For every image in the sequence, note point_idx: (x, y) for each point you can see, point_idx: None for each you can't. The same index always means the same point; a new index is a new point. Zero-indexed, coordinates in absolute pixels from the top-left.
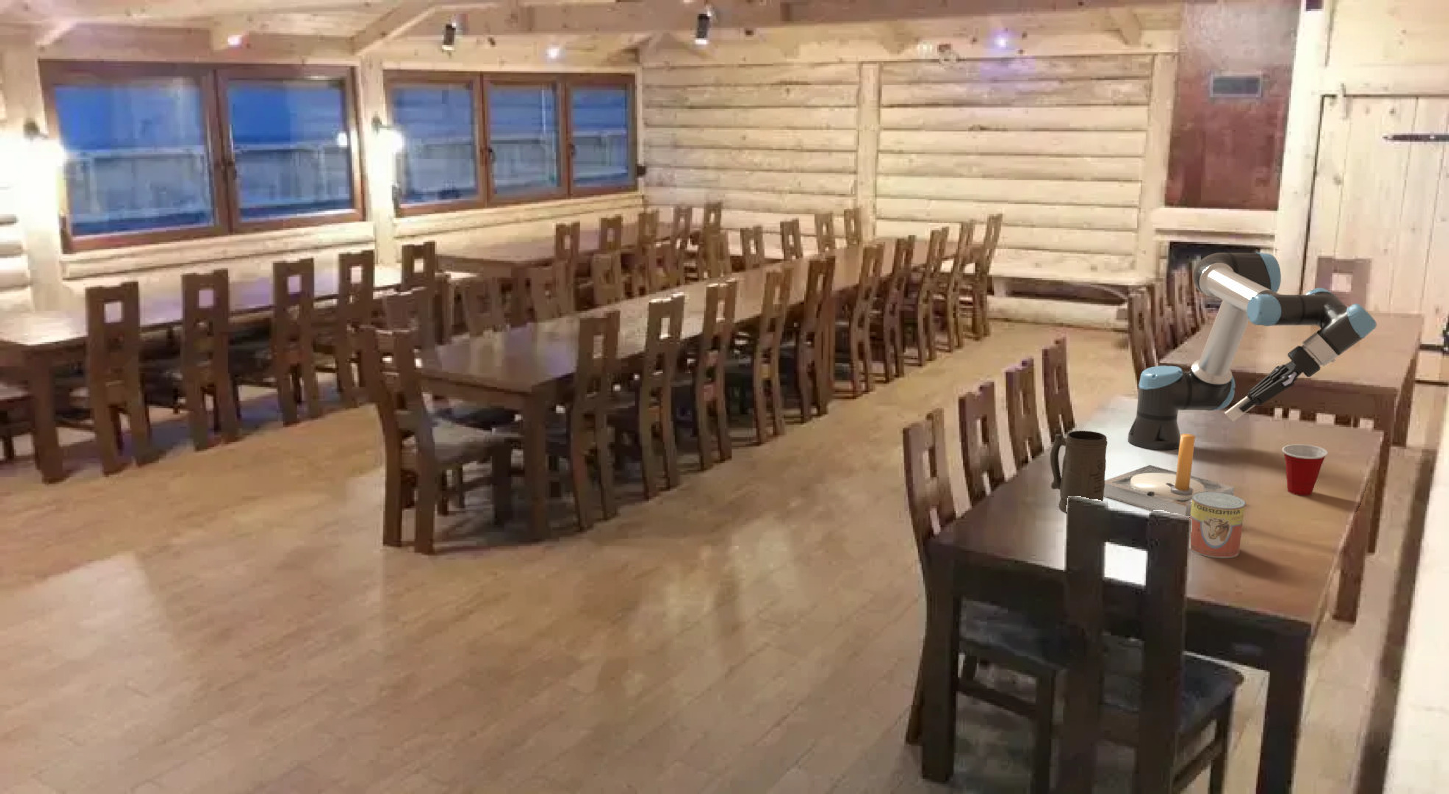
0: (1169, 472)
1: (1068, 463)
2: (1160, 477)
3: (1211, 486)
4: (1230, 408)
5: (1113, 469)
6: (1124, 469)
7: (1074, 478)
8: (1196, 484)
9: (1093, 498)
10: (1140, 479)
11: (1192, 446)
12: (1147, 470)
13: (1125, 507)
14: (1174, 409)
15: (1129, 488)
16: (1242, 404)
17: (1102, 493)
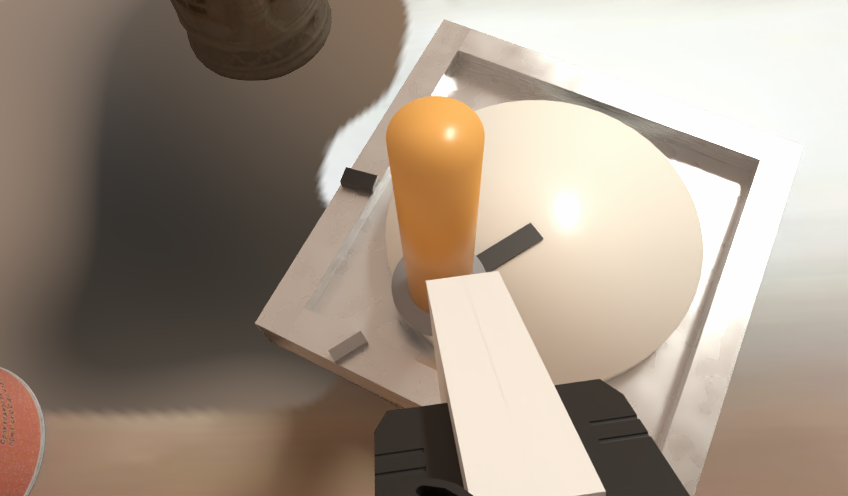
0: (740, 227)
1: None
2: (618, 197)
3: (669, 420)
4: (503, 308)
5: (792, 59)
6: (822, 91)
7: None
8: (598, 347)
9: (183, 15)
10: (541, 131)
11: (407, 204)
12: (718, 146)
13: (338, 139)
14: None
15: None
16: (455, 444)
17: (230, 29)
